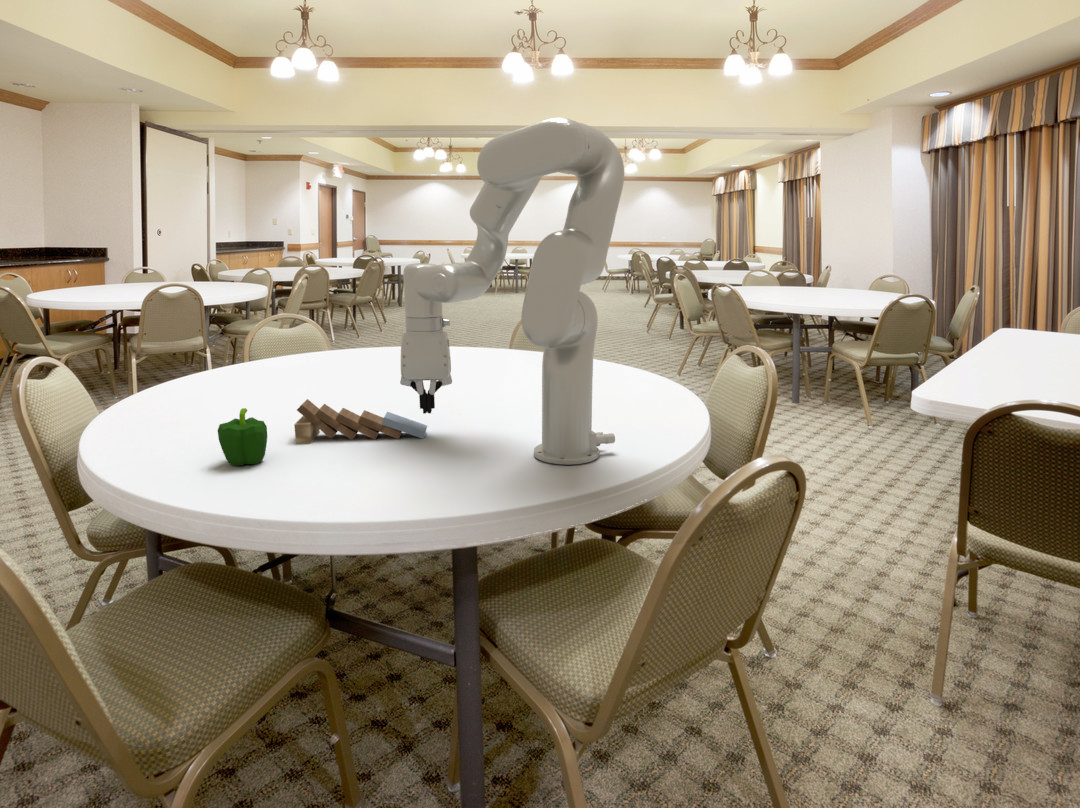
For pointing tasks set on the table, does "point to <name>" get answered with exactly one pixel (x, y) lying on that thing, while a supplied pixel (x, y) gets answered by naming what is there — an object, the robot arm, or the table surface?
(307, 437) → the oak end block
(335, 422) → the walnut tile
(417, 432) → the blue grey rectangular block
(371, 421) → the walnut tile
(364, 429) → the walnut tile
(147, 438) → the table surface
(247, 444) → the bell pepper
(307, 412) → the walnut tile
